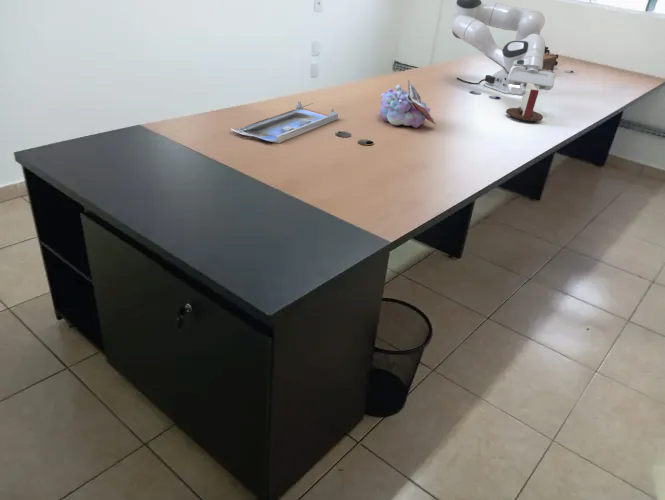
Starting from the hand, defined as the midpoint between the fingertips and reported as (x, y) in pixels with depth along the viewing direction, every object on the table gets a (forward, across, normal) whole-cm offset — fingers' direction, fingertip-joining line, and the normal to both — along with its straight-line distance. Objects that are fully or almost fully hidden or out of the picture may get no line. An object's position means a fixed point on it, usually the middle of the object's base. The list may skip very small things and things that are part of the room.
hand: (528, 94), depth 244 cm
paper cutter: (+54, +93, +38) cm, 114 cm away
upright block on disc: (+8, 0, -4) cm, 9 cm away
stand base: (+9, 0, -5) cm, 10 cm away
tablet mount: (-102, -27, -113) cm, 155 cm away
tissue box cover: (-70, -18, -81) cm, 109 cm away
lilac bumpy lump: (+34, +51, +19) cm, 64 cm away
